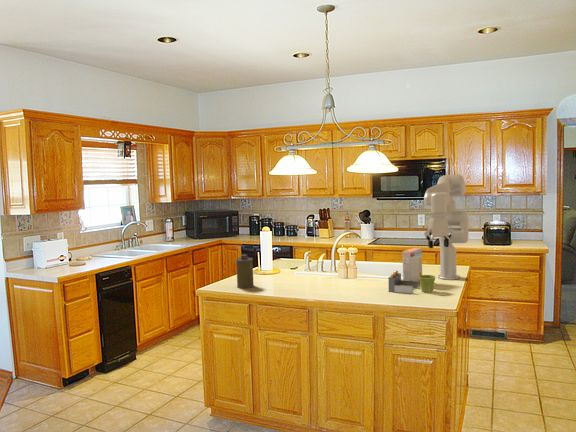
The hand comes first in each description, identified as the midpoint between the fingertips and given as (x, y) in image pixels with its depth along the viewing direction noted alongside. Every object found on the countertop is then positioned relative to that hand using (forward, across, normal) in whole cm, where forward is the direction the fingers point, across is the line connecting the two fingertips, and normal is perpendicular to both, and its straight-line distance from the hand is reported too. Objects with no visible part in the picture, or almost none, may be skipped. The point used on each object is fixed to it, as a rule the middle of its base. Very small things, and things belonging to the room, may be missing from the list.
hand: (438, 247), depth 255 cm
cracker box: (+26, -2, -28) cm, 38 cm away
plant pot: (+26, +2, -8) cm, 27 cm away
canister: (+26, +93, -66) cm, 118 cm away
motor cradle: (+26, +12, -18) cm, 34 cm away
